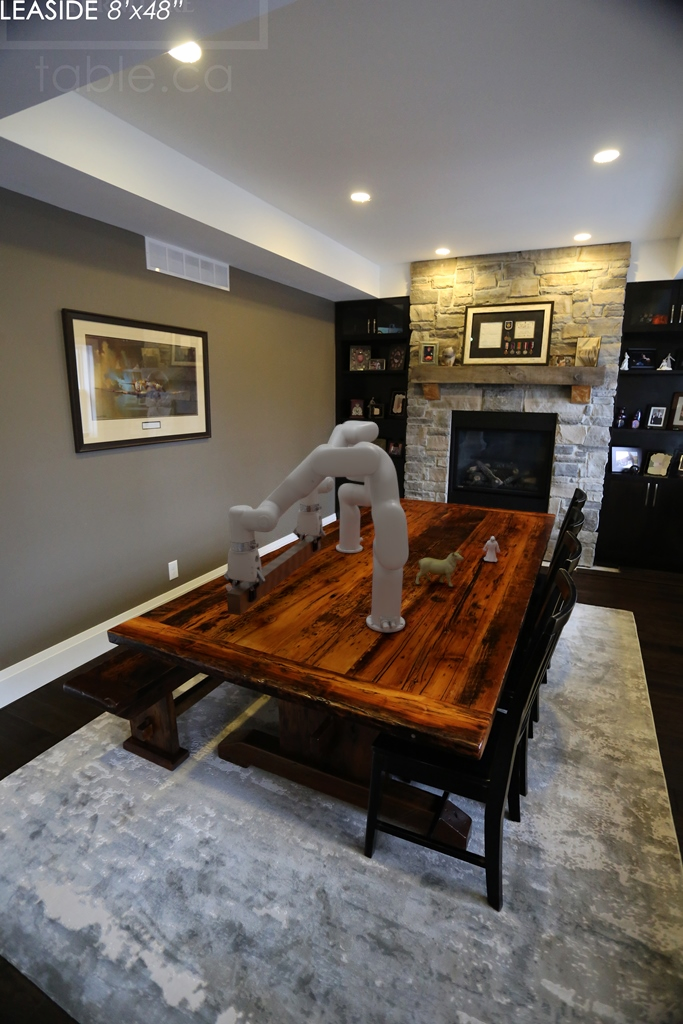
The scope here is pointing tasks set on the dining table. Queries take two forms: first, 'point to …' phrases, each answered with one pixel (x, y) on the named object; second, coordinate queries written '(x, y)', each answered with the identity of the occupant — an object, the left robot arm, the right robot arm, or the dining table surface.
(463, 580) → the dining table surface
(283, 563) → the beam
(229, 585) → the seashell
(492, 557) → the figurine
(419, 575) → the toy
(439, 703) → the dining table surface
